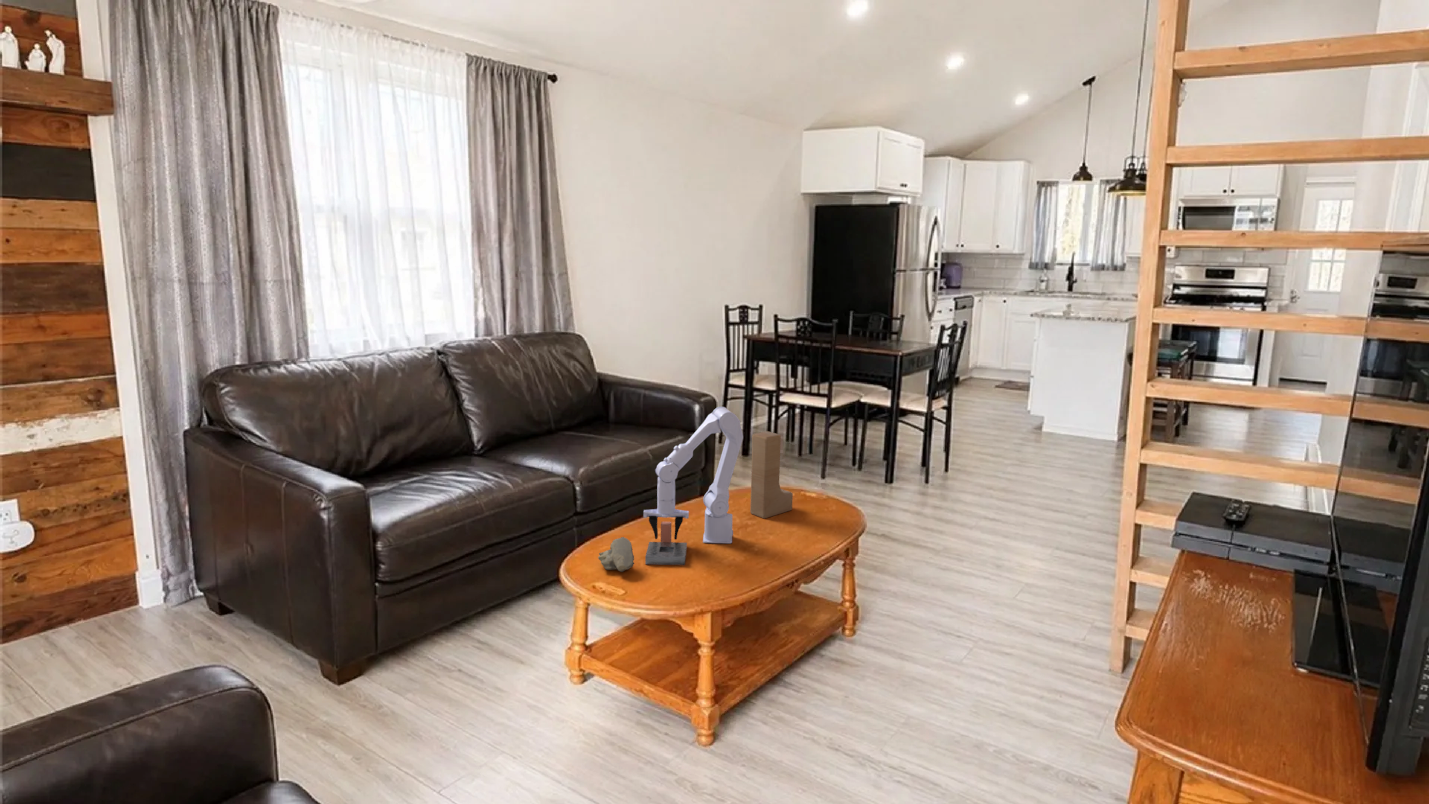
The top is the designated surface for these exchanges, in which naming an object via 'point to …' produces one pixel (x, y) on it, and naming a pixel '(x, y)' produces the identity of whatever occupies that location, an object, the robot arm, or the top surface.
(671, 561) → the gray slotted base
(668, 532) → the reddish brown rectangular block
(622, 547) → the fossil
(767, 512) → the decorative block
